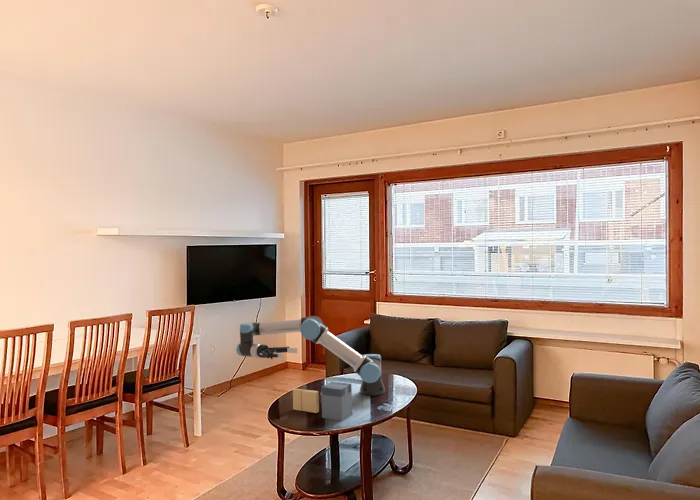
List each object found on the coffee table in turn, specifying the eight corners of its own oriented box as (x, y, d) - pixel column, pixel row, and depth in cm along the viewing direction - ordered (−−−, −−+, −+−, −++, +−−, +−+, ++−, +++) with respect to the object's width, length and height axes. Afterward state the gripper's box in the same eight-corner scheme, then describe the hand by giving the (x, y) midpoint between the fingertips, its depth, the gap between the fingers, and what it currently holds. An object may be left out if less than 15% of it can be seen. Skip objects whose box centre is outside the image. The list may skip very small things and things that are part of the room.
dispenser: (321, 417, 261) (320, 386, 261) (331, 410, 271) (330, 381, 270) (342, 420, 255) (341, 389, 255) (352, 414, 265) (351, 383, 265)
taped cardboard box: (293, 409, 274) (292, 389, 274) (295, 408, 276) (295, 388, 276) (316, 413, 267) (315, 392, 267) (319, 411, 269) (318, 391, 269)
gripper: (273, 352, 303) (302, 355, 293) (246, 362, 281) (277, 365, 271) (272, 340, 303) (302, 342, 293) (246, 348, 281) (276, 351, 271)
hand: (290, 353), depth 282 cm, fingers open, 13 cm apart
